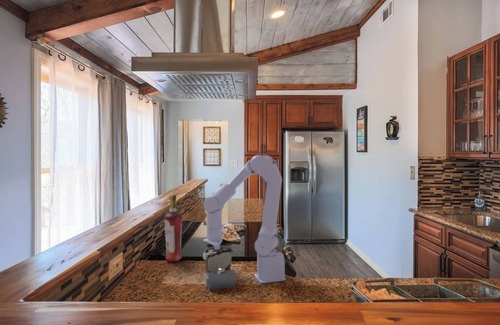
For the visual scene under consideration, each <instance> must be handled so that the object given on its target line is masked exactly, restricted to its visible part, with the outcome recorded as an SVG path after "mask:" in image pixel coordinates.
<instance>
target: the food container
mask: <svg viewBox="0 0 500 325" xmlns="http://www.w3.org/2000/svg"><path fill="white" fill-rule="evenodd" d="M233 253H234V249H233V247H232V246H228V245H222V246H220V249H217V250H214V246H212V247H209V248H208V247H207V248H205V250H204V251H203V253H202V254H203V255H202V258H203V260H204V265H205V273H208V272H217V271H218V268H225V270H231V269H232V268H231V266H232V257H233Z"/></svg>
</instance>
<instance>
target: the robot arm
mask: <svg viewBox="0 0 500 325" xmlns="http://www.w3.org/2000/svg"><path fill="white" fill-rule="evenodd" d="M252 175H258V176H260V177H261V178H262V179H263V180H264V181H265V183H266V189H265V195H264V196H265V197H264V206H263V212H262V220H261V228H260V230H259V232H258V236H257V239H256V240H255V242H254V250H255V252H256V256H257V257H256V261H257V262H256V263H257V265H256V267H257V269H256V270H257V272H256V273H254V274H253V276H254V277H255V279H256V280H257V281H258V283H259V284H267V283H274V282H281V281H283V282H284V281H286V280H287V279H286V277H285V276H286V272H285V271H286V269H285V267H286V266H285V265H286V264H285V263H286V262H285V257H284V254H283V253H282V252H281V251H278V250H277V247H278V246H279V243H280V239H279V237H278V228H277V224H278V217H279V216H278V215H279V214H278V213H279V208H280V198H281V191H282V183H283V178H282V174H281V172H280V170H279V167H278V164H277V161H276V160H275V159H274V158H273V157H272V156H270V155H261V154H256V155H254V156H253V157H251V159H249V160H248V161H247V162H246V163H245V164H244V166H243V167H241V169H240V170H239V171H238V173H236V174H235V175H234V177H233V178H231V180H230V181H229V182H224V183H221V184H219V188H218V189H217V190H216V191H215V192H212V193H211V195H212V196H208V197H206V198H205V200H204V201H203V207H204V210H205V212H206V238H204V239H203V243H207V244H206V247H207V248H209V247H212V246H214V250H217V249H220V246H223V245H222V242H223V235H222V234H223V233H222V231H223V229H222V228H223V227H222V226H223V225H222V220H223V219H222V211H223V208H224V207H225V204H226V203H227V202H228V201H229V200H230V199H231V198H233V196H234V195H235V194H236V191H237V190H236V189H237V188H238V187H239V186H241V184H242V183H243V182H245V181H246V180H247V179H248V178H249V177H251V176H252Z"/></svg>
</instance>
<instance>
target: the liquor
mask: <svg viewBox="0 0 500 325" xmlns="http://www.w3.org/2000/svg"><path fill="white" fill-rule="evenodd" d="M177 210H178V209H177V194H170V195H169V213H167V214H166V215H164V232H165V233H164V234H165V235H164V236H165V248H166V250H165V252H166V256H165V260H166V261H168V262H169V263H176V262H179V261H180V260H181V259H182V258H183V256H182V232H183V231H182V230H183V229H182V228H183V225H182V224H183V215H181V214H180V213H178V212H177Z"/></svg>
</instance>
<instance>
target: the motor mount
mask: <svg viewBox="0 0 500 325" xmlns="http://www.w3.org/2000/svg"><path fill="white" fill-rule="evenodd" d="M236 275H237V274H236V270H235V269H230V270H225V268H218V271H217V272H208V273H206V272H204V277H203V278H204V284H205V288H206V287H207V289H209V290H208V291H215V290H214V289H216V290H223V289H229V288H236V286H237V284H236V278H237V277H236Z"/></svg>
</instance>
